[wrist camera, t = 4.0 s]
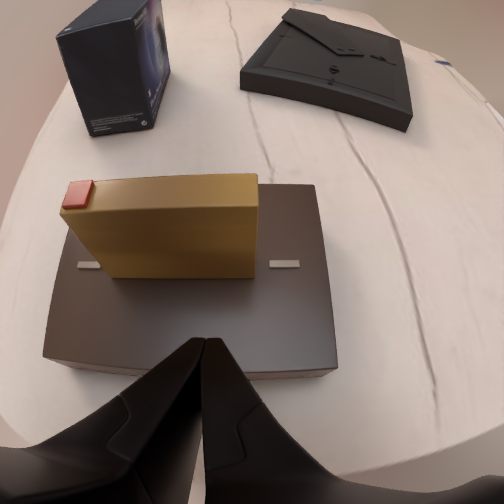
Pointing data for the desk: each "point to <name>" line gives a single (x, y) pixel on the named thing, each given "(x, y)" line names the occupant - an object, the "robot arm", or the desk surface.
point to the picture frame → (332, 68)
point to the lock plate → (206, 303)
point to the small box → (117, 64)
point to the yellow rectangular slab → (168, 225)
